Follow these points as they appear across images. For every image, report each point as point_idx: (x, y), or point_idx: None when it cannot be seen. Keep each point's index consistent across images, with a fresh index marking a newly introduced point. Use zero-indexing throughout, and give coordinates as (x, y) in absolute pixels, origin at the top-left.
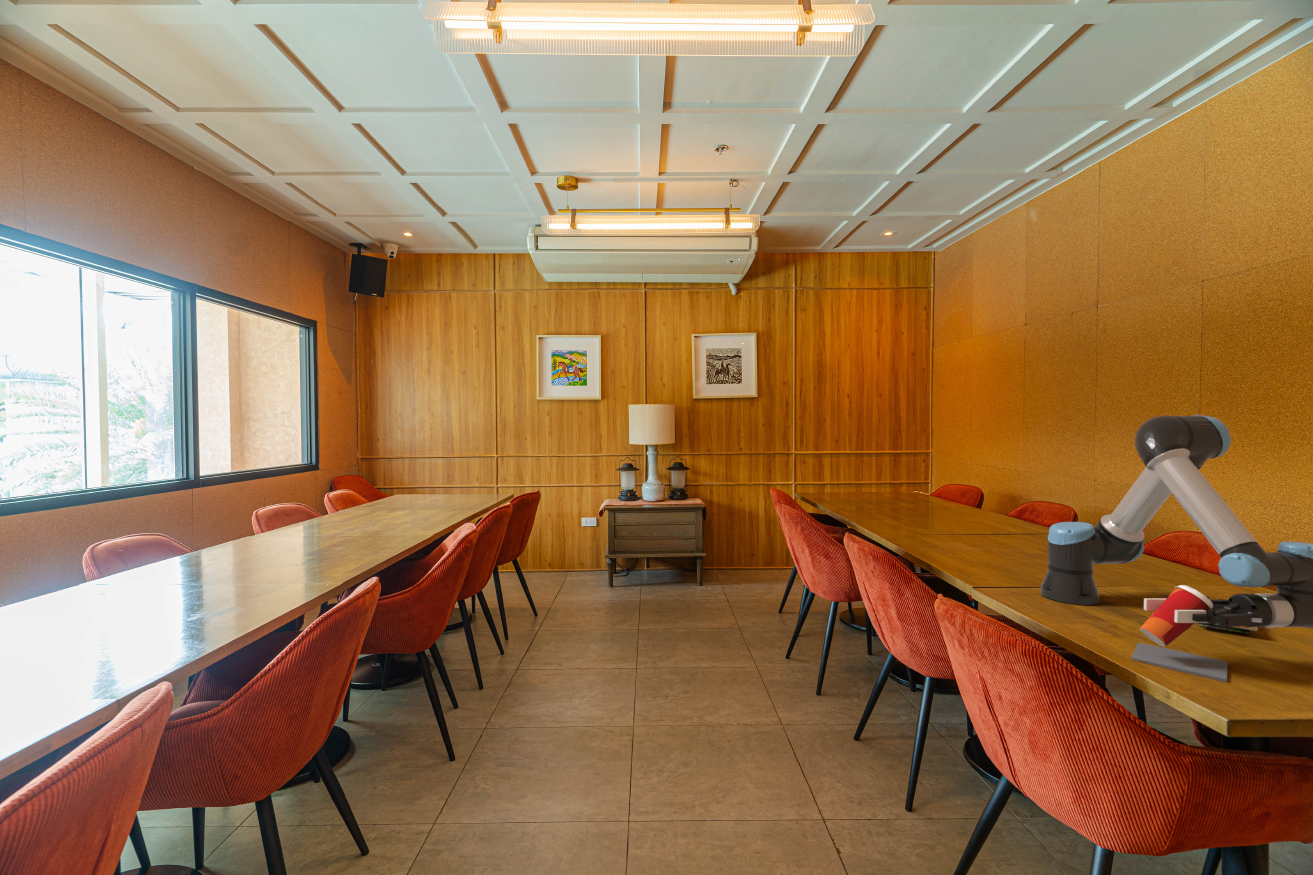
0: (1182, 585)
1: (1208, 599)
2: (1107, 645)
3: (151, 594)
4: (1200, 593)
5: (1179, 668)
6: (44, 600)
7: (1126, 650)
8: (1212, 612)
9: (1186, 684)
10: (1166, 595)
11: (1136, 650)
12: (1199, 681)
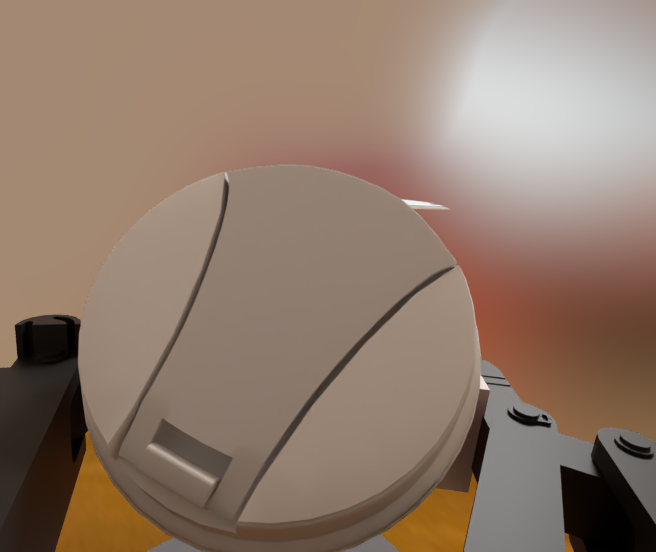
0: (363, 185)
1: (104, 266)
2: (463, 514)
3: (426, 204)
4: (168, 200)
5: (167, 543)
6: (411, 200)
7: (412, 541)
8: (39, 342)
9: (86, 471)
10: (635, 438)
11: (385, 547)
12: (62, 534)
